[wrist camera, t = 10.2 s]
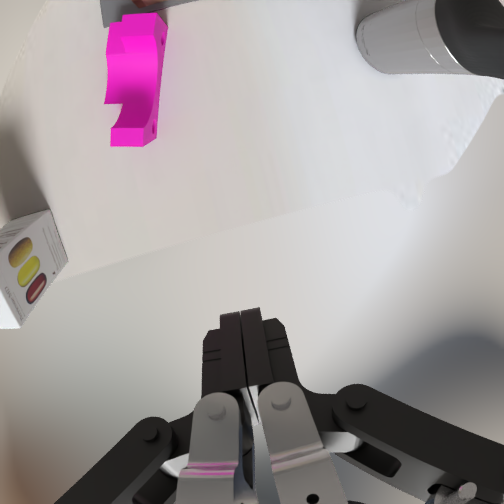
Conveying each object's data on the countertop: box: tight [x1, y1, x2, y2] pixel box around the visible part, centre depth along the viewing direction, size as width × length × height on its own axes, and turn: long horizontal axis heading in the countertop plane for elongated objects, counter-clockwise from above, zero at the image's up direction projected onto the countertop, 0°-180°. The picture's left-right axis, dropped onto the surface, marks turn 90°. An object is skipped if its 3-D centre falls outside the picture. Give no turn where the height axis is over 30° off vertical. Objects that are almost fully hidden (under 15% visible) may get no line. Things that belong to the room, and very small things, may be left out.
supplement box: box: [0, 209, 68, 329], centre depth 33 cm, size 10×9×17 cm
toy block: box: [104, 13, 168, 147], centre depth 29 cm, size 15×6×8 cm, turn 173°
